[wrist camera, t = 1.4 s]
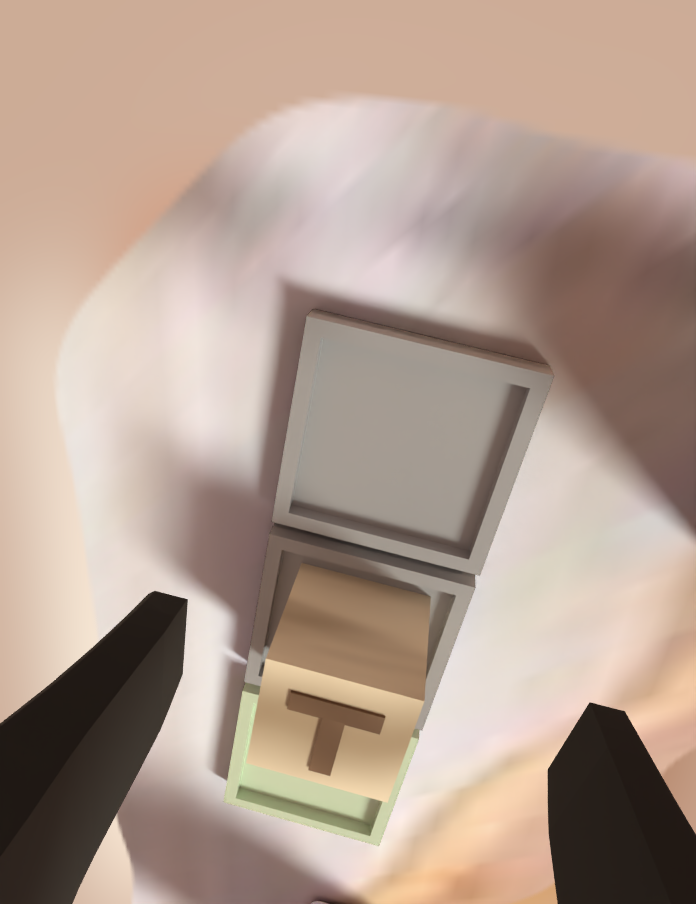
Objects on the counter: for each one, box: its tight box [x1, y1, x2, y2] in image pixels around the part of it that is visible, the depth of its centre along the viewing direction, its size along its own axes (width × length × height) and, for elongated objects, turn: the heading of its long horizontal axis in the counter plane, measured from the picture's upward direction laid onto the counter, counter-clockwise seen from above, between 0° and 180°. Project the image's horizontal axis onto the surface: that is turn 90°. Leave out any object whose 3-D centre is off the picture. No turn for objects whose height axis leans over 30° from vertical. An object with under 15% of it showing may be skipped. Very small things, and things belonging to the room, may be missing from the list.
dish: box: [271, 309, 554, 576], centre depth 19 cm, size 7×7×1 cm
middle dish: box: [244, 523, 475, 730], centre depth 23 cm, size 7×7×1 cm
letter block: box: [246, 563, 431, 803], centre depth 21 cm, size 5×5×5 cm
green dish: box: [224, 682, 419, 846], centre depth 26 cm, size 7×7×1 cm
